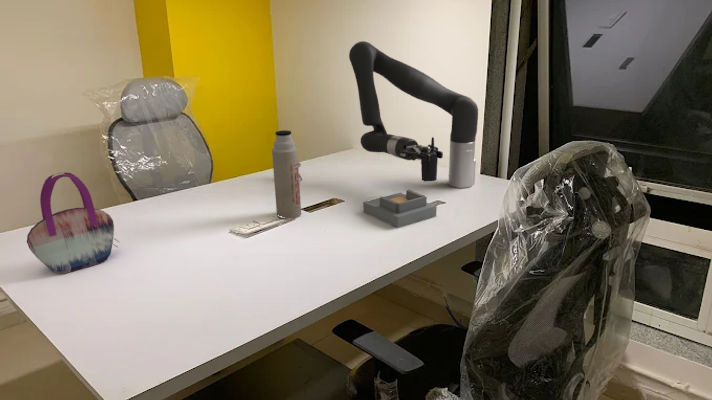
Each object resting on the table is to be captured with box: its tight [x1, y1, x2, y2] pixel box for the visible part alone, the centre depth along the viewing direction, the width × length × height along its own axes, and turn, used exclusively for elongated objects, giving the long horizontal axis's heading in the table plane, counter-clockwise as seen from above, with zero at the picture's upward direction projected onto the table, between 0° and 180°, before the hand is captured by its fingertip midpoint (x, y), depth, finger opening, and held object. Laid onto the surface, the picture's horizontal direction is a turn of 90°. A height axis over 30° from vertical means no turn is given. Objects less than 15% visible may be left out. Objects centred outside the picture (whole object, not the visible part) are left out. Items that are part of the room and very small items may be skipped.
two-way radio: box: [420, 136, 439, 182], centre depth 171 cm, size 6×4×15 cm
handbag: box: [26, 172, 120, 274], centre depth 134 cm, size 21×10×25 cm, turn 131°
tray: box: [362, 189, 438, 229], centre depth 167 cm, size 16×18×6 cm
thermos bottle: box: [271, 129, 302, 220], centre depth 165 cm, size 8×8×28 cm
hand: (435, 156), depth 169 cm, fingers closed on two-way radio, 5 cm apart
